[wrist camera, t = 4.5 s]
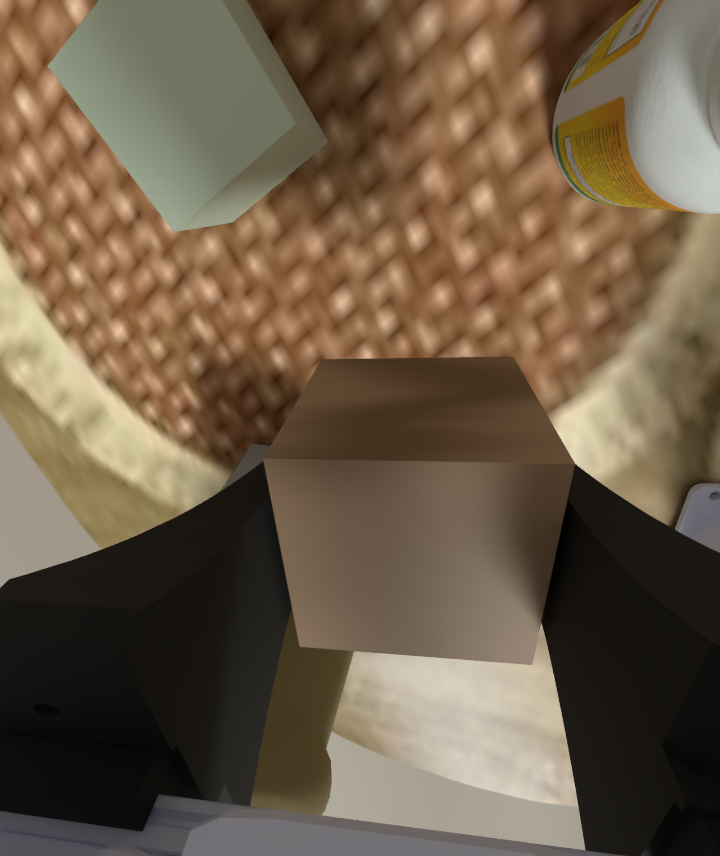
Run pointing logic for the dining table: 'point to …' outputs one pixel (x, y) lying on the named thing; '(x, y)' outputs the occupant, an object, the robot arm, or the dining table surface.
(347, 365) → the walnut block
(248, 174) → the sage green block
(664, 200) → the supplement bottle
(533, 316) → the dining table surface
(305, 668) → the olive brown rounded piece
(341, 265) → the dining table surface
